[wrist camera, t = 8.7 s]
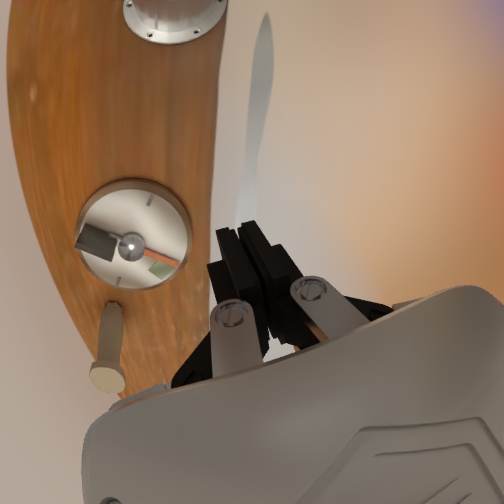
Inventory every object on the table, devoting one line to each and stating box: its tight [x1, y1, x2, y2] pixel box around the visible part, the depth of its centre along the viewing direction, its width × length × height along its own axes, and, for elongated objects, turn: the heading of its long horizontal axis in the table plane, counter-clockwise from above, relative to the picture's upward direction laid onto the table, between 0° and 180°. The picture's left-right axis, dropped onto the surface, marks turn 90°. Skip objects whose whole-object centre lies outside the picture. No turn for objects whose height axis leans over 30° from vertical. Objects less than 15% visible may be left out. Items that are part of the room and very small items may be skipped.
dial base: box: [75, 178, 193, 291], centre depth 38 cm, size 17×17×3 cm
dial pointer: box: [75, 223, 180, 268], centre depth 34 cm, size 14×4×5 cm, turn 55°
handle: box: [90, 302, 125, 393], centre depth 38 cm, size 5×6×15 cm
